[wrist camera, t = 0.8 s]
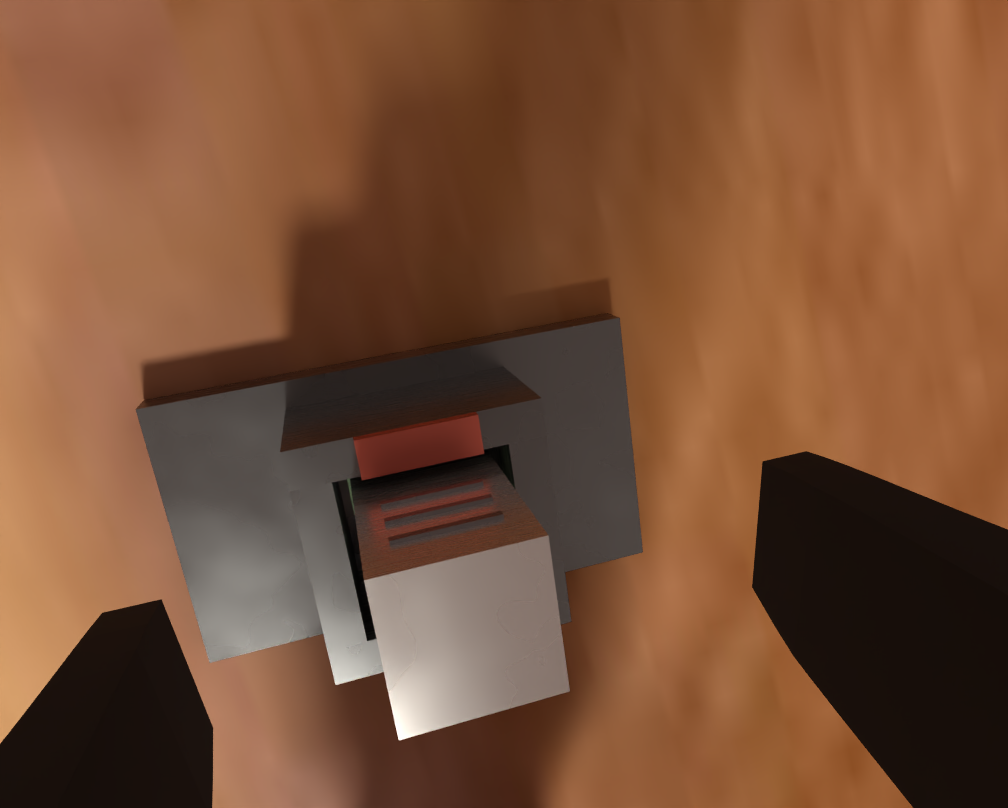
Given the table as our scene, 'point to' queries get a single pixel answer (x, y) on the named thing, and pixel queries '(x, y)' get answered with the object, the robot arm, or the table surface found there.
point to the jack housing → (384, 473)
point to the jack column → (458, 593)
